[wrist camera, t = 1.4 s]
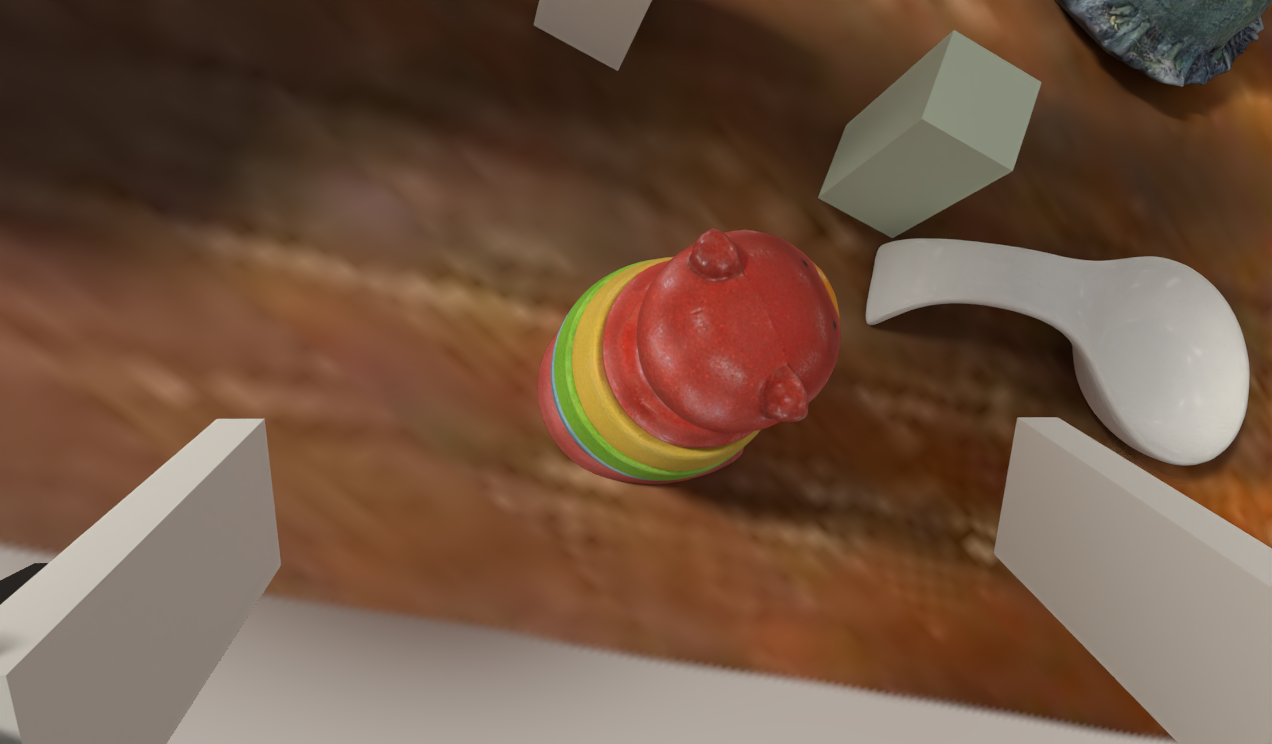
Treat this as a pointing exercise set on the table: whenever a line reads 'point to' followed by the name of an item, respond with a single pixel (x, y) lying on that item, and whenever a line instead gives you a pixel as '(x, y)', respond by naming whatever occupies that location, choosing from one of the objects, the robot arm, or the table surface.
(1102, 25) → the tree stump
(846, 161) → the sage-green block
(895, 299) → the spoon rest
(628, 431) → the stacking bear
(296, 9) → the table surface
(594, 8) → the off-white block
